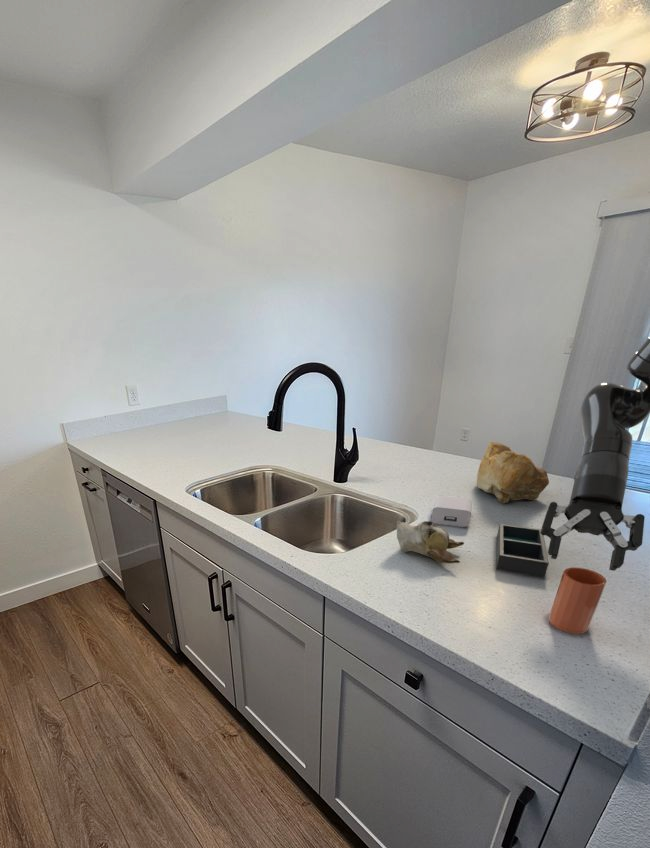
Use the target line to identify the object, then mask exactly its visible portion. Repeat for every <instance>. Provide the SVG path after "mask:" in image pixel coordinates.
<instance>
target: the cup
mask: <svg viewBox="0 0 650 848" xmlns="http://www.w3.org/2000/svg"><path fill="white" fill-rule="evenodd" d="M606 585H607V579H606V577H605V576H604V575H602V574H600V573H599V572H597V571H594V570H591V569H588V568H583V567H568V568H565V570H563V571H562V575H561V578H560V581H559V583H558V588H557V591H556V593H555V597H554V599H553V602H552V605H551V609H550V612H549V615H548V622H549V623H550V624H551V625H552V626H553V627H554V628H557V630H560V631H561V632H565V633H568V634H574V635H580V634H582V635H583V634H585V633H587V631H588V630H589V628H590V625H591V623H592V621H593V618H594V616H595V612H596V610H597V608H598V605H599V602H600V600H601V597H602V594H603V593H604V589H605V588H606Z"/></svg>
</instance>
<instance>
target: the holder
mask: <svg viewBox="0 0 650 848" xmlns="http://www.w3.org/2000/svg"><path fill="white" fill-rule="evenodd" d="M541 529H542V528H541ZM541 529H540V528H535V527H534V528H533V527H528V526H525V527H524V526H520V525H519V526H518V525H512V524H503V523H499V525H498V530H497V533H496V534H497V535H496V556H495V557H496V560H495V561H496V562H495V563H496V564H495V569H496V570H498V571H503V572H509V573H515V574H520V575H525V576H533V577H538V578H543V579H544V578H545V577H546V574H547V571H548V566H549V564H550V563H549V558H548V550H547V546H546V541H545V535H542V534H541Z"/></svg>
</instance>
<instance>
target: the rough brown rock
mask: <svg viewBox="0 0 650 848" xmlns="http://www.w3.org/2000/svg"><path fill="white" fill-rule="evenodd" d="M549 484H550V480H549V476H548V472H547V470H545V469H544V468H540V467H538V466H536V465H535V463H534V462H533V460H532V459H531V458H529V457H528V456H527V455H526V454H519V453H516V452H515V451H512V449H511V448H510V446H507V445H505V444H504V443H501V442H494V441H491V442H489V443H488V446H487V448H486V450H485V452H484V455H483V457H482V459H481V460H480V463H479V467H478V470H477V475H476V487H477V488H478V489H480V490H482V491H483V492H484V493H486V494H491V495H495V497H496V499H497V500H498V501H499V502H500V503H501V504H506V503H509V501H511V502H513V501H519V500H528V501H536V500H537V499H538V498H539V497H540V494H541V493H542V492H544V490H545V489H546V488H547V487H548V486H549Z"/></svg>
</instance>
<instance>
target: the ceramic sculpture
mask: <svg viewBox="0 0 650 848" xmlns="http://www.w3.org/2000/svg"><path fill="white" fill-rule="evenodd" d="M396 539H397V542H398V544H399V548H400V551H401V552H402V553H408V552H410V551H411V552H415V553H417V554H420V555H423V556H426V557H428V558H432V560H435V561H436V562H438V563H441V564H459V563H461V562H460V560H459V559H457V558H456V557H455V556H454V555H453V554H452V552H451V551H449V550H451V549H455V548H458V547H461V546H463V545H465V542H464V541H456V540H454V539H452V538H450V535H449V533H448V532H447V530H446V529H445V528H444V527H442V526H438V525H436V524H433V522H432V521H431V520H428V521H427V520H424V521H421V522H419V523H418V524H417V525H412V524H409V523H408V522H404V521H401V520H398V521H397V522H396ZM447 549H449V550H447Z"/></svg>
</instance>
